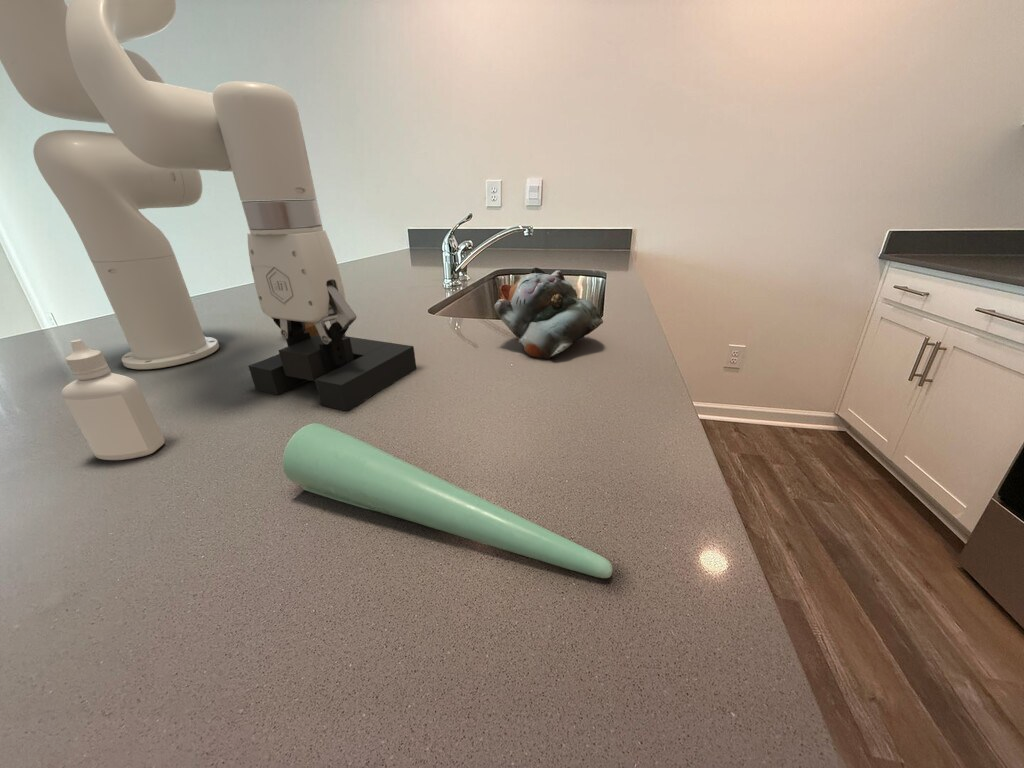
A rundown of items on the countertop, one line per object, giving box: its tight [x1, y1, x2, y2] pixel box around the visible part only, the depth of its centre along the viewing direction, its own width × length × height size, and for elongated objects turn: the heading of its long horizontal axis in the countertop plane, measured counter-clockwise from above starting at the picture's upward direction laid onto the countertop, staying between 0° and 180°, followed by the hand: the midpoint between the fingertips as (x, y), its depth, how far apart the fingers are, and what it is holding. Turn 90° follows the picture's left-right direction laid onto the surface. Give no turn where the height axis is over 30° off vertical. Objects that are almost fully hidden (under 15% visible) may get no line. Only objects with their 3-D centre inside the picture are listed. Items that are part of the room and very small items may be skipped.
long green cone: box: [282, 422, 614, 579], centre depth 31 cm, size 5×6×27 cm
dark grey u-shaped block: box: [247, 335, 417, 412], centre depth 56 cm, size 16×14×4 cm
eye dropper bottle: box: [61, 339, 165, 461], centre depth 39 cm, size 4×6×12 cm
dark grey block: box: [278, 335, 354, 382], centre depth 53 cm, size 5×7×4 cm
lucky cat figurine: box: [493, 267, 604, 360], centre depth 66 cm, size 15×12×14 cm
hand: (320, 365), depth 54 cm, fingers closed on dark grey block, 4 cm apart
